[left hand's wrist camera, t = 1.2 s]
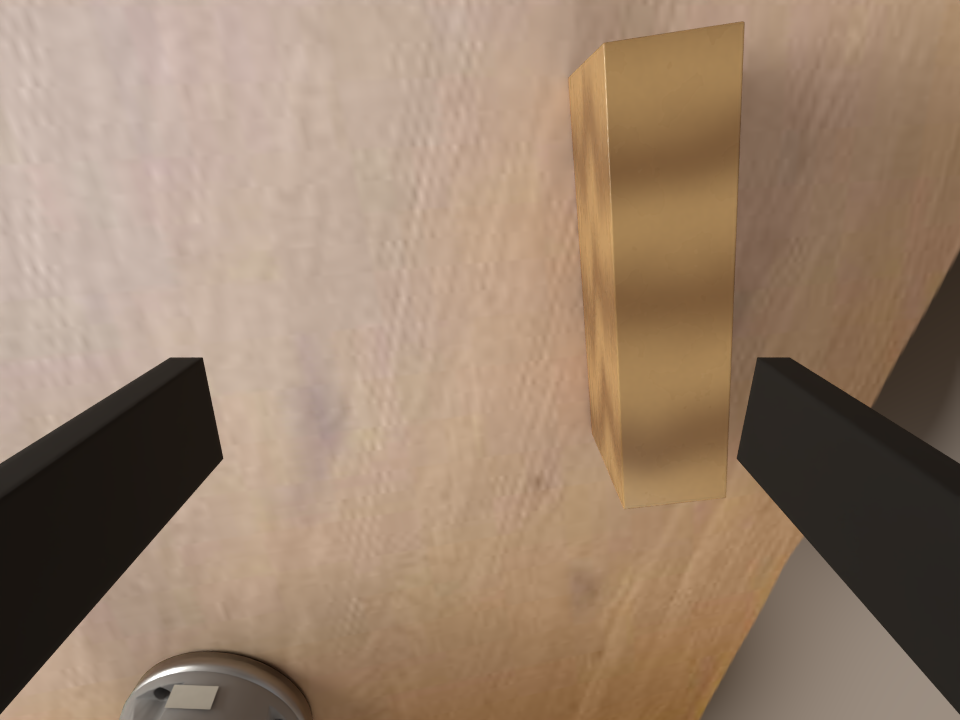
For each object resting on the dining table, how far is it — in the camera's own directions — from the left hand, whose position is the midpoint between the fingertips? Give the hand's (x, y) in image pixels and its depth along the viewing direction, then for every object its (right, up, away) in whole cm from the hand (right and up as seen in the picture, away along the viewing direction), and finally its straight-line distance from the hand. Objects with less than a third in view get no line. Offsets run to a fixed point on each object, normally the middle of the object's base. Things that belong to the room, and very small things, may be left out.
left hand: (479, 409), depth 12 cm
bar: (+9, +7, +19) cm, 22 cm away
